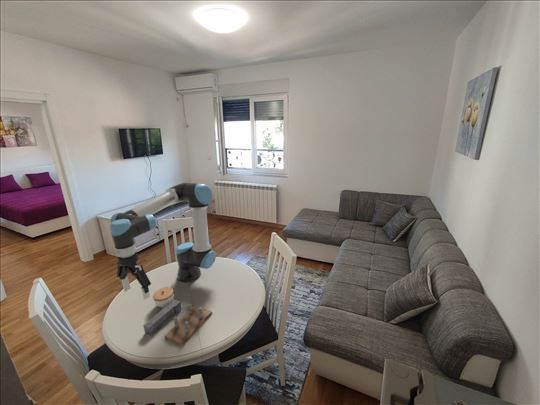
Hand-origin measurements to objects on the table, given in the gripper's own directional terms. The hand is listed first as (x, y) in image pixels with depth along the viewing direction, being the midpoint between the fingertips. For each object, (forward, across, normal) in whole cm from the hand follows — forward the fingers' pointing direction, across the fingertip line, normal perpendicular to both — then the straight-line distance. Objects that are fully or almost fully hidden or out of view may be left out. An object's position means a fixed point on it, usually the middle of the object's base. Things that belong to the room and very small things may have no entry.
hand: (137, 293), depth 113 cm
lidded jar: (+24, -7, +18) cm, 31 cm away
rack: (+23, +17, +12) cm, 31 cm away
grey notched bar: (+23, +2, +9) cm, 25 cm away
